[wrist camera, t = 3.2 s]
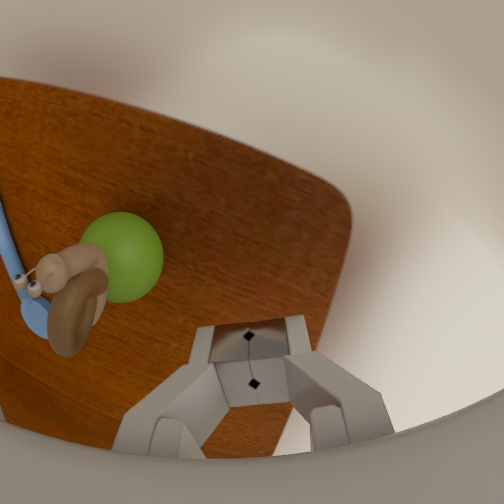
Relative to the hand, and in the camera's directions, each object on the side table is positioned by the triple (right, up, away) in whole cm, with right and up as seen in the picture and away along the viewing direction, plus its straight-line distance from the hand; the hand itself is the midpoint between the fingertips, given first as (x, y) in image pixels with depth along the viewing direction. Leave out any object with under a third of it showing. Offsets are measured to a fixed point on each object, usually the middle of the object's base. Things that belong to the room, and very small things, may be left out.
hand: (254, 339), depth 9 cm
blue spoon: (-20, +2, +12) cm, 24 cm away
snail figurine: (-8, +4, +11) cm, 14 cm away
